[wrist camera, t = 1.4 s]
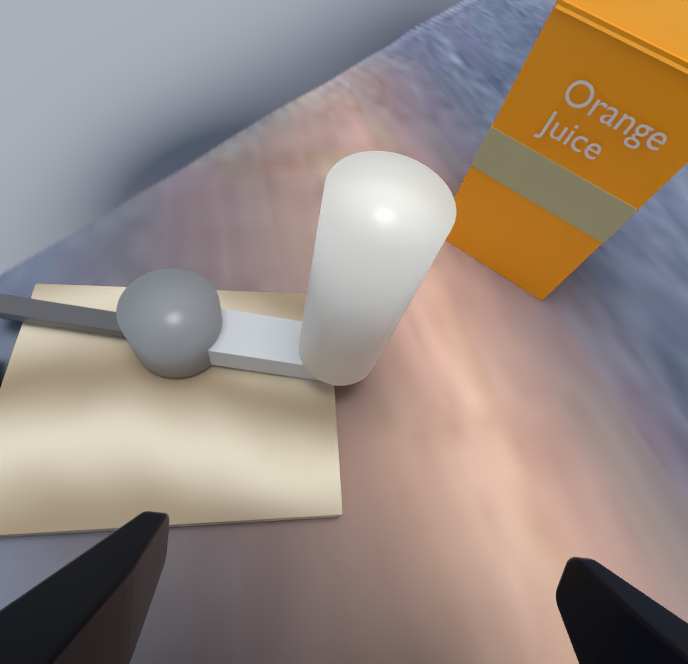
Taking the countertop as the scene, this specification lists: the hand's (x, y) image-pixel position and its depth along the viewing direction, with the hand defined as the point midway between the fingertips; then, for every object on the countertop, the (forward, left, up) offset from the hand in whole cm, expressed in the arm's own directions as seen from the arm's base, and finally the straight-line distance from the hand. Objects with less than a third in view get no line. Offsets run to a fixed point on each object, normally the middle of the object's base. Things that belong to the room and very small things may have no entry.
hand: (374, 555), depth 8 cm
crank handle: (+10, +6, -12) cm, 17 cm away
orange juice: (+20, -16, -13) cm, 29 cm away
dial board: (+8, +8, -13) cm, 17 cm away
